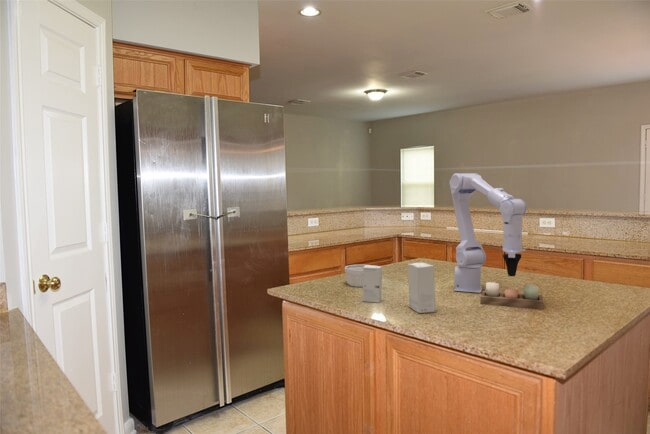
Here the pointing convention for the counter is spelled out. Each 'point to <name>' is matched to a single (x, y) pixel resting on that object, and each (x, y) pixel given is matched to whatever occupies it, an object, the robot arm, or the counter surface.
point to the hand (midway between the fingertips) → (511, 275)
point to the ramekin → (354, 275)
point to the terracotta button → (511, 293)
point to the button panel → (511, 301)
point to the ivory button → (492, 289)
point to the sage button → (531, 292)
